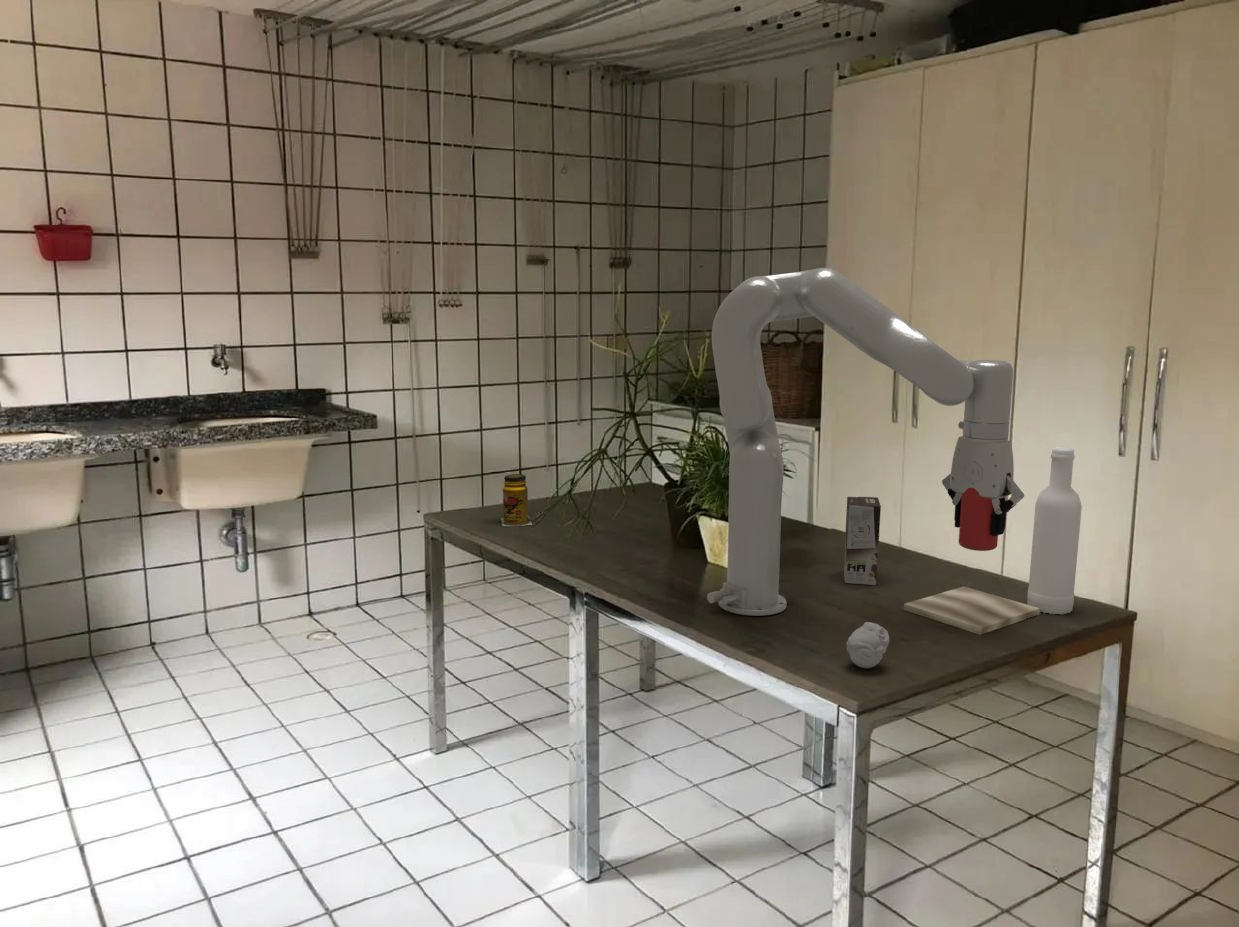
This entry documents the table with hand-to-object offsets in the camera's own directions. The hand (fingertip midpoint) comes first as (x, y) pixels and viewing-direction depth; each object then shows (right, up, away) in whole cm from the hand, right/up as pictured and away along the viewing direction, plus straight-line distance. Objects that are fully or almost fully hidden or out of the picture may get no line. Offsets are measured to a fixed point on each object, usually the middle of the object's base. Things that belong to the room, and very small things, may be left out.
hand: (978, 529), depth 178 cm
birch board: (0, -15, +4) cm, 16 cm away
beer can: (0, -3, +1) cm, 3 cm away
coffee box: (-15, -12, +25) cm, 31 cm away
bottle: (+16, -15, +7) cm, 23 cm away
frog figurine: (-25, -20, -21) cm, 39 cm away
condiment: (-90, -3, +70) cm, 114 cm away
